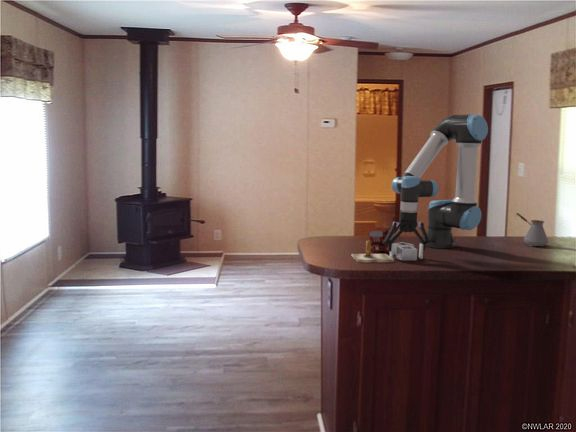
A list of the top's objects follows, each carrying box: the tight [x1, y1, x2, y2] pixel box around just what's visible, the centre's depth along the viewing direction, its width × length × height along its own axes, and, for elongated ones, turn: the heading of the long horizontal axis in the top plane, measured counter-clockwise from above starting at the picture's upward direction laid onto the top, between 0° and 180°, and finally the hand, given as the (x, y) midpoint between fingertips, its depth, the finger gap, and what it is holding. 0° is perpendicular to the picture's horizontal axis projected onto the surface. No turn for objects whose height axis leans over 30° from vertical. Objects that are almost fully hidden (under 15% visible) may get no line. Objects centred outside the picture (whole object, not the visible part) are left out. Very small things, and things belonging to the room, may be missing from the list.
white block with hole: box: [393, 241, 415, 256], centre depth 274 cm, size 7×7×5 cm
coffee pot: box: [515, 212, 549, 247], centre depth 308 cm, size 21×12×15 cm, turn 21°
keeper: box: [350, 240, 395, 263], centre depth 262 cm, size 16×12×8 cm
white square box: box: [395, 246, 418, 261], centre depth 265 cm, size 7×7×5 cm
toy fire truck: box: [367, 229, 395, 254], centre depth 279 cm, size 7×12×10 cm, turn 96°
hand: (405, 258), depth 266 cm, fingers open, 13 cm apart
